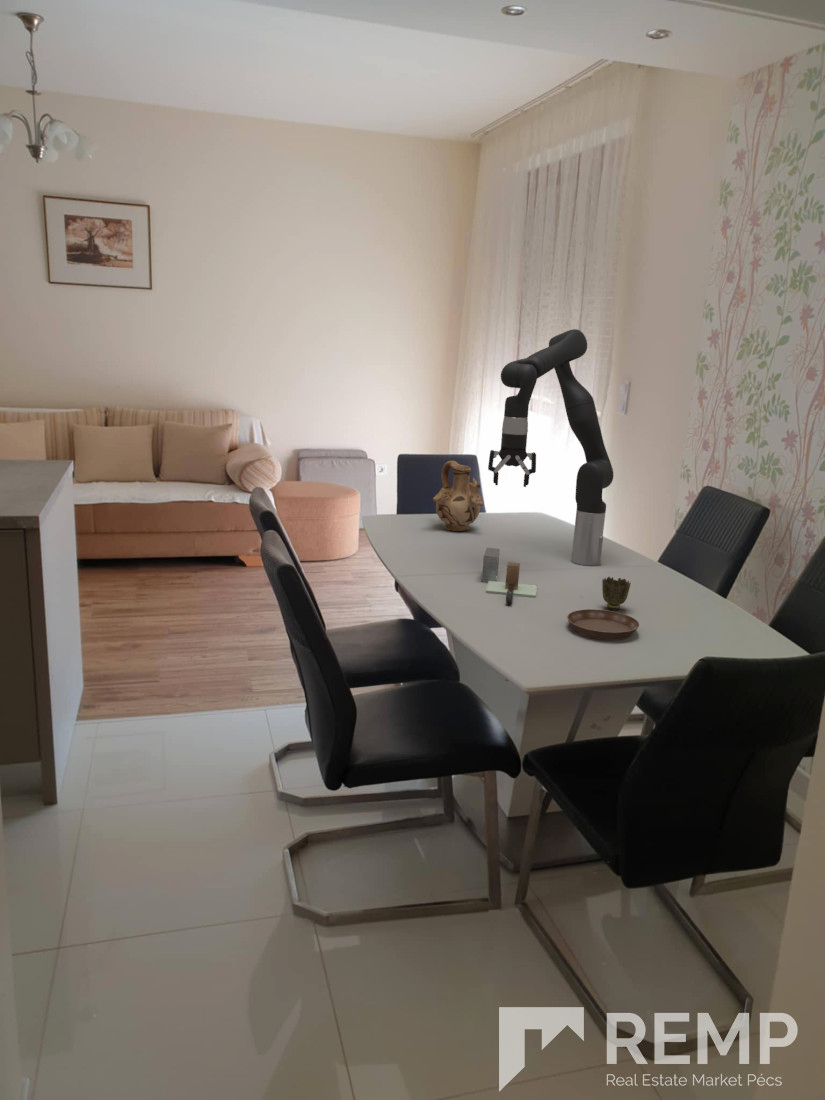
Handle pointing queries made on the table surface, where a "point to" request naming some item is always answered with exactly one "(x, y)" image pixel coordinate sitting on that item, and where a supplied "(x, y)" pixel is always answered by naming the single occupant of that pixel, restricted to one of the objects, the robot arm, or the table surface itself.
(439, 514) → the ceramic vessel
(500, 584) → the mat
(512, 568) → the wooden head mallet
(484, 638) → the table surface
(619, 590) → the cup
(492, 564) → the slotted metal block
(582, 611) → the plant saucer
